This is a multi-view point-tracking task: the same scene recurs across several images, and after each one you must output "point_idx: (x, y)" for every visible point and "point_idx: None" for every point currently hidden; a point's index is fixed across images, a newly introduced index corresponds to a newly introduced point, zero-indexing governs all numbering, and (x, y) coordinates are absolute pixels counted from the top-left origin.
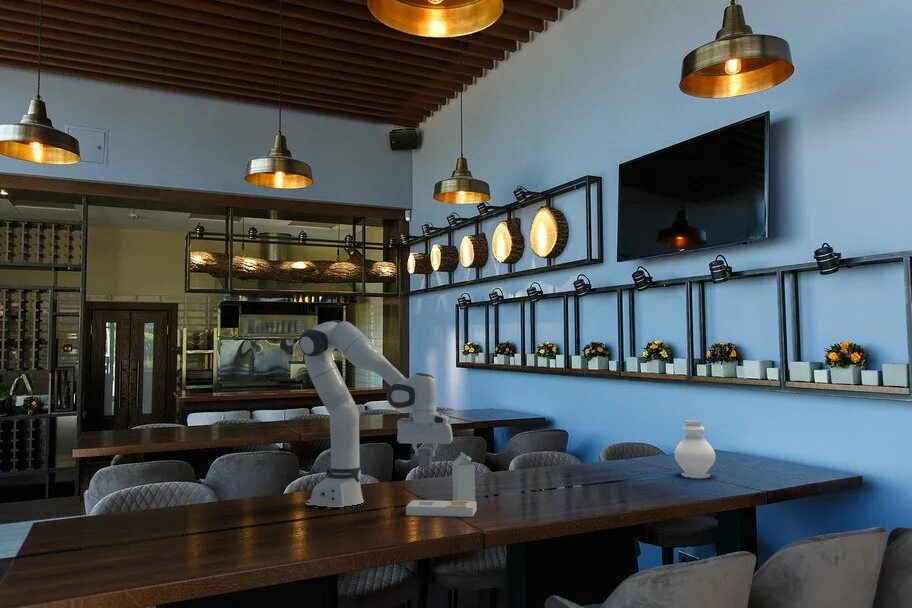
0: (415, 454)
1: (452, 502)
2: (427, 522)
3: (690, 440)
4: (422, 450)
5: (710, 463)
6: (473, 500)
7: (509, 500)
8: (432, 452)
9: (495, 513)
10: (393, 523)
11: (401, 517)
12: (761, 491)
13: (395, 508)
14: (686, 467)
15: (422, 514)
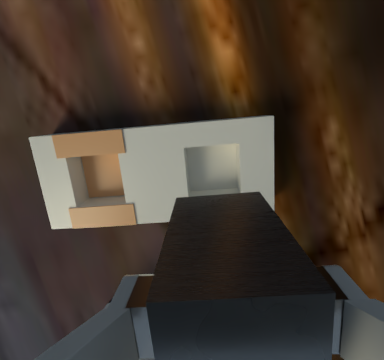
0: (341, 271)
1: (124, 203)
2: (178, 71)
3: None
4: (255, 280)
5: None
6: (107, 308)
7: (33, 347)
8: (127, 297)
9: (17, 214)
10: (289, 33)
11: (281, 118)
12: None
13: (327, 224)
14: None
15: (209, 120)
